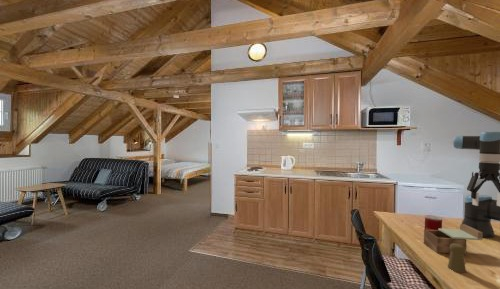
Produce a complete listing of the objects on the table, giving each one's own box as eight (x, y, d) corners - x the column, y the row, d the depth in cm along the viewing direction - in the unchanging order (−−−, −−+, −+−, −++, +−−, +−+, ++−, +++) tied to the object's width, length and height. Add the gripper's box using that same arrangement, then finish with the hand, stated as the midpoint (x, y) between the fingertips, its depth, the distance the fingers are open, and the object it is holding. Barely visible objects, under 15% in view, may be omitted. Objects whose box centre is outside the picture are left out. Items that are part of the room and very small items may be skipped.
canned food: (444, 238, 134) (445, 219, 133) (428, 237, 135) (429, 218, 135) (436, 233, 141) (437, 215, 141) (421, 232, 143) (422, 214, 143)
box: (449, 245, 126) (450, 231, 126) (465, 255, 115) (466, 239, 115) (423, 243, 127) (424, 229, 127) (437, 253, 117) (437, 238, 116)
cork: (446, 269, 102) (447, 244, 102) (448, 264, 107) (449, 240, 106) (465, 275, 98) (466, 249, 98) (466, 269, 102) (467, 244, 102)
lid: (464, 231, 125) (465, 224, 125) (482, 240, 114) (482, 232, 114) (438, 229, 126) (438, 222, 126) (453, 238, 115) (453, 230, 115)
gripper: (508, 162, 119) (506, 204, 120) (458, 160, 123) (456, 202, 123) (523, 163, 112) (520, 209, 113) (469, 162, 115) (468, 206, 116)
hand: (487, 205), depth 118 cm, fingers open, 10 cm apart
